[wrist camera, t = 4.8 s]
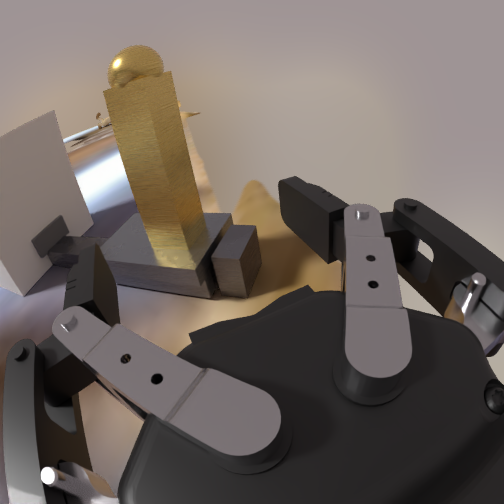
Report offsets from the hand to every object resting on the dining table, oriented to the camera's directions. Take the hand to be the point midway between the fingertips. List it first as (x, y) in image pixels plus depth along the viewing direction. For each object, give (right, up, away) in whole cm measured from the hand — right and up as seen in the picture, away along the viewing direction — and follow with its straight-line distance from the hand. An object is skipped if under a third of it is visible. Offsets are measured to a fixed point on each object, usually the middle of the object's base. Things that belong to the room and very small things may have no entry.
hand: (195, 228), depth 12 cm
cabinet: (-24, -1, +19) cm, 31 cm away
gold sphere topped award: (-5, -2, +13) cm, 14 cm away
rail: (-10, -2, +15) cm, 18 cm away
